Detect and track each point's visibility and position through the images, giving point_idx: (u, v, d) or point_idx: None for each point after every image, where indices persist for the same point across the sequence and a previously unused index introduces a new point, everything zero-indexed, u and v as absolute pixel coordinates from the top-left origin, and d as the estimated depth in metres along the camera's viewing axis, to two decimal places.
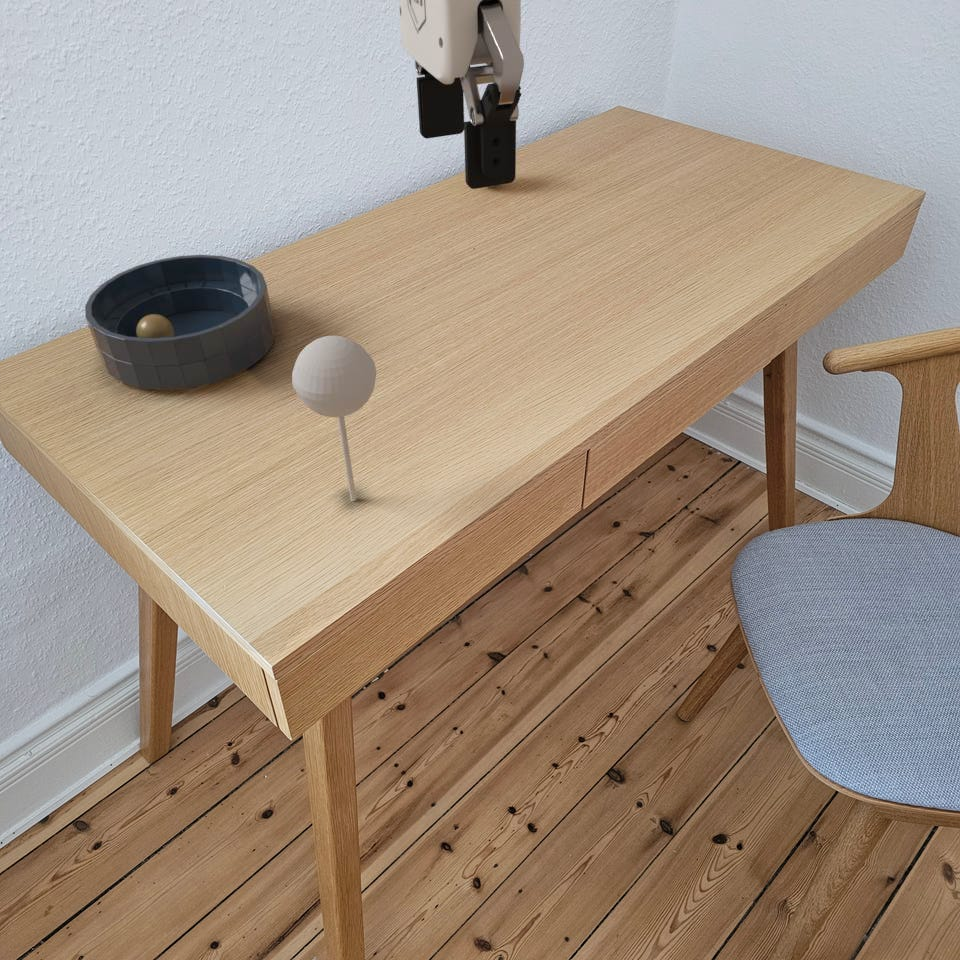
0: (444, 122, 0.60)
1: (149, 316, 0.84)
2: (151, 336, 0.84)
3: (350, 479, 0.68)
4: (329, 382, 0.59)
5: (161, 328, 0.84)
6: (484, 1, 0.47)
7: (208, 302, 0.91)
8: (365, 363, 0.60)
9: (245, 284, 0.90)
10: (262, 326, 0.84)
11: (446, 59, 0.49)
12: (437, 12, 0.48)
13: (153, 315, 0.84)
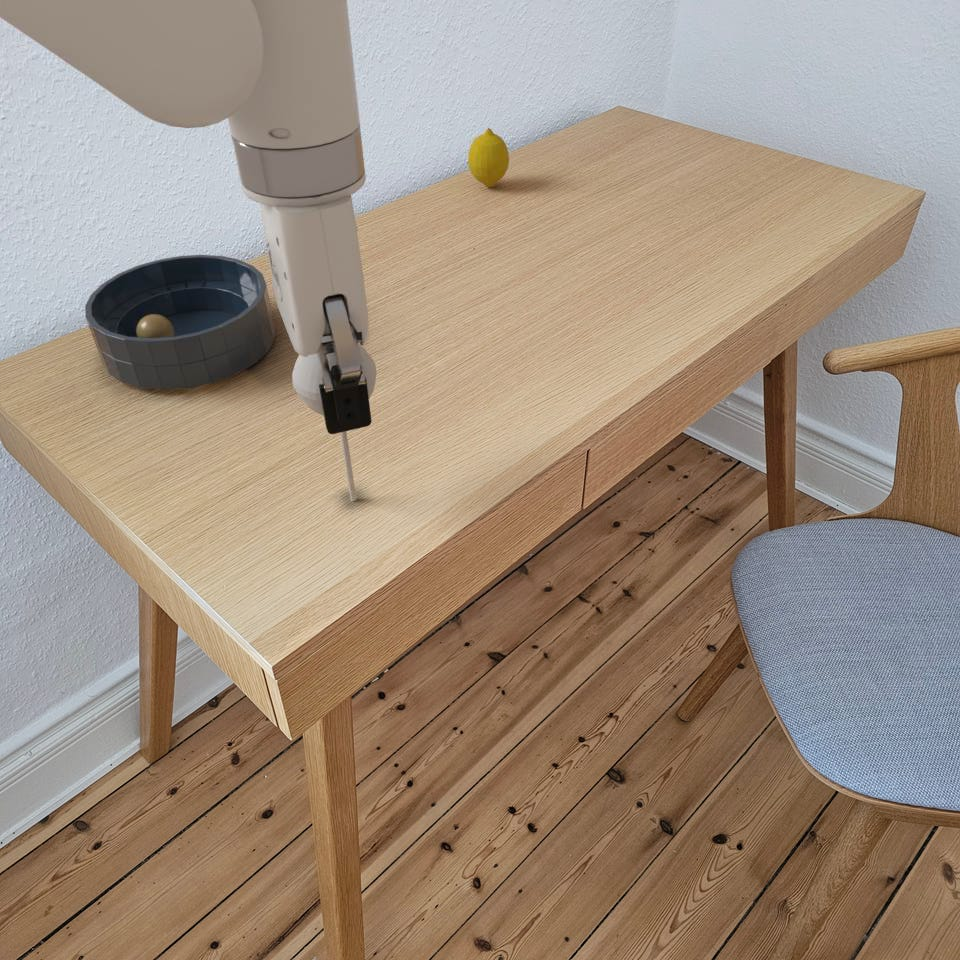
0: None
1: (149, 316, 0.84)
2: (151, 336, 0.84)
3: (350, 479, 0.68)
4: None
5: (161, 328, 0.84)
6: (330, 300, 0.52)
7: (208, 302, 0.91)
8: (366, 362, 0.60)
9: (245, 284, 0.90)
10: (262, 326, 0.84)
11: (298, 341, 0.53)
12: (288, 303, 0.53)
13: (153, 315, 0.84)
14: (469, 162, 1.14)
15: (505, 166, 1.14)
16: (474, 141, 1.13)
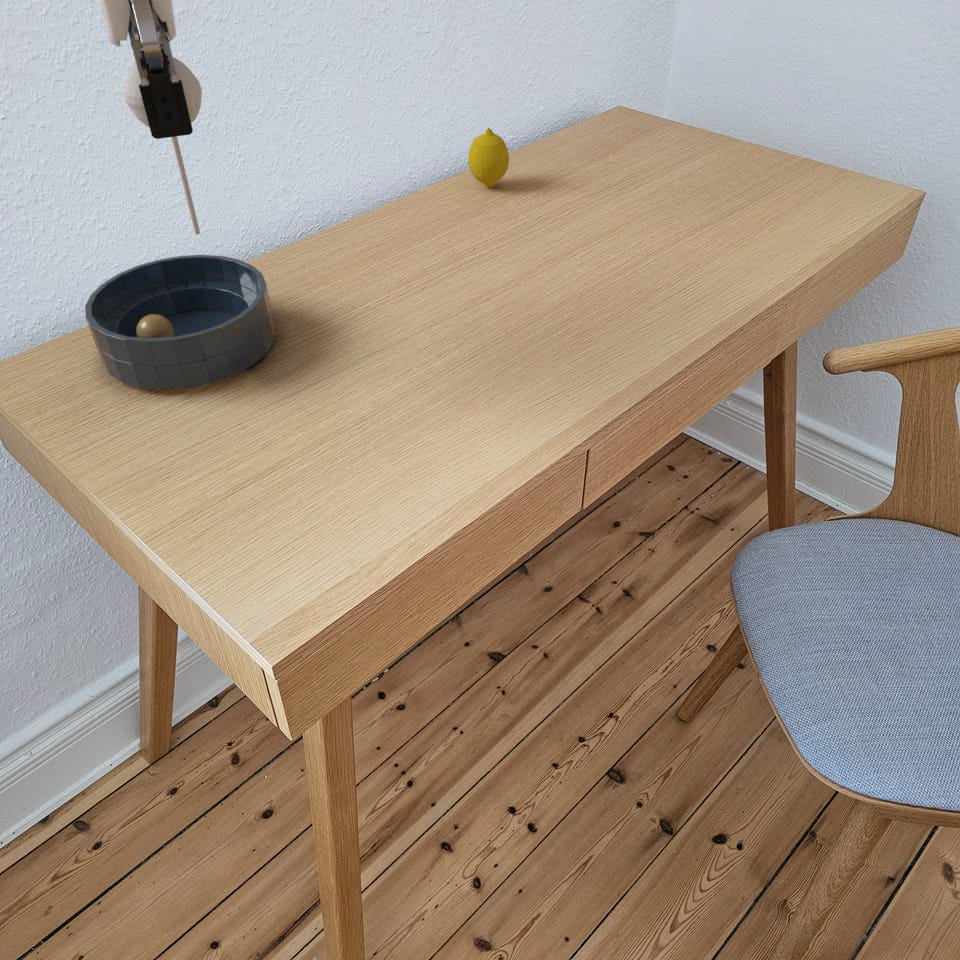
0: None
1: (149, 316, 0.84)
2: (151, 336, 0.84)
3: (191, 208, 0.76)
4: None
5: (161, 328, 0.84)
6: None
7: (208, 302, 0.91)
8: (187, 76, 0.68)
9: (245, 284, 0.90)
10: (262, 326, 0.84)
11: (108, 25, 0.61)
12: None
13: (153, 315, 0.84)
14: (469, 162, 1.14)
15: (505, 166, 1.14)
16: (474, 141, 1.13)
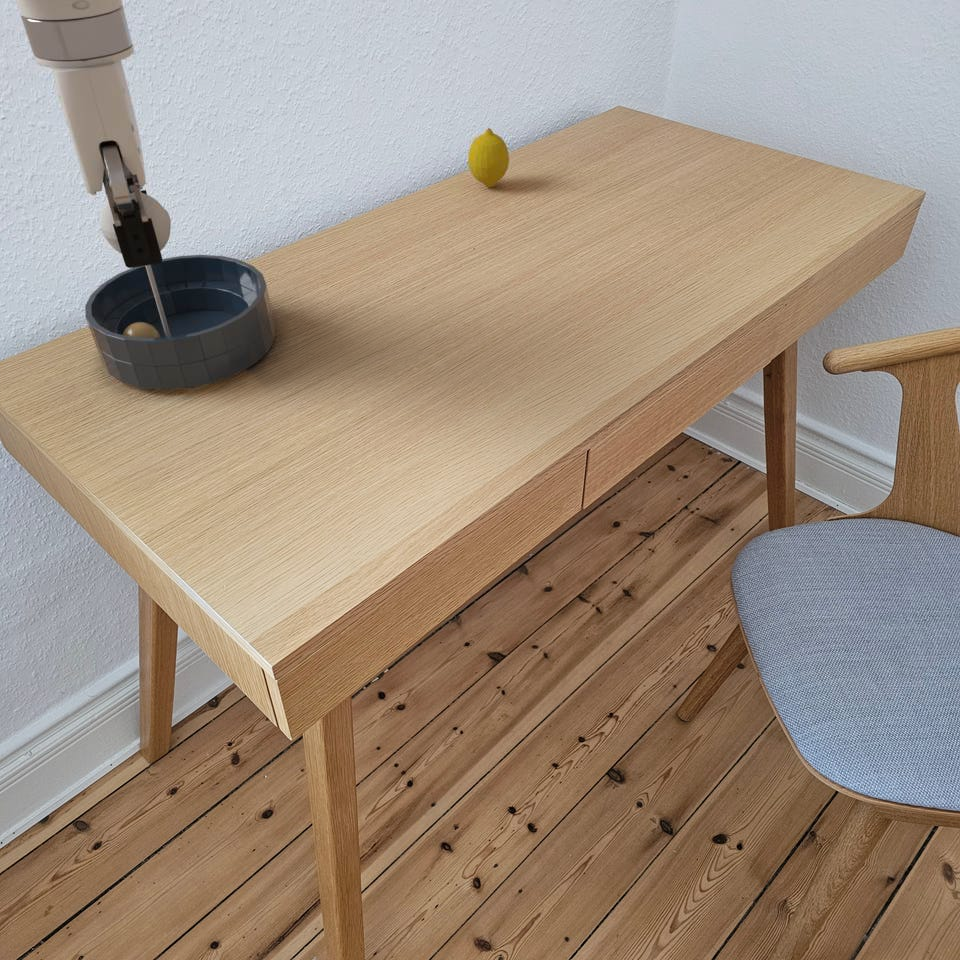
0: None
1: None
2: None
3: (163, 319, 0.84)
4: None
5: None
6: (106, 146, 0.68)
7: (208, 302, 0.91)
8: (157, 211, 0.76)
9: (245, 284, 0.90)
10: (262, 326, 0.84)
11: (85, 180, 0.69)
12: (74, 148, 0.69)
13: (127, 335, 0.82)
14: (469, 162, 1.14)
15: (505, 166, 1.14)
16: (474, 141, 1.13)
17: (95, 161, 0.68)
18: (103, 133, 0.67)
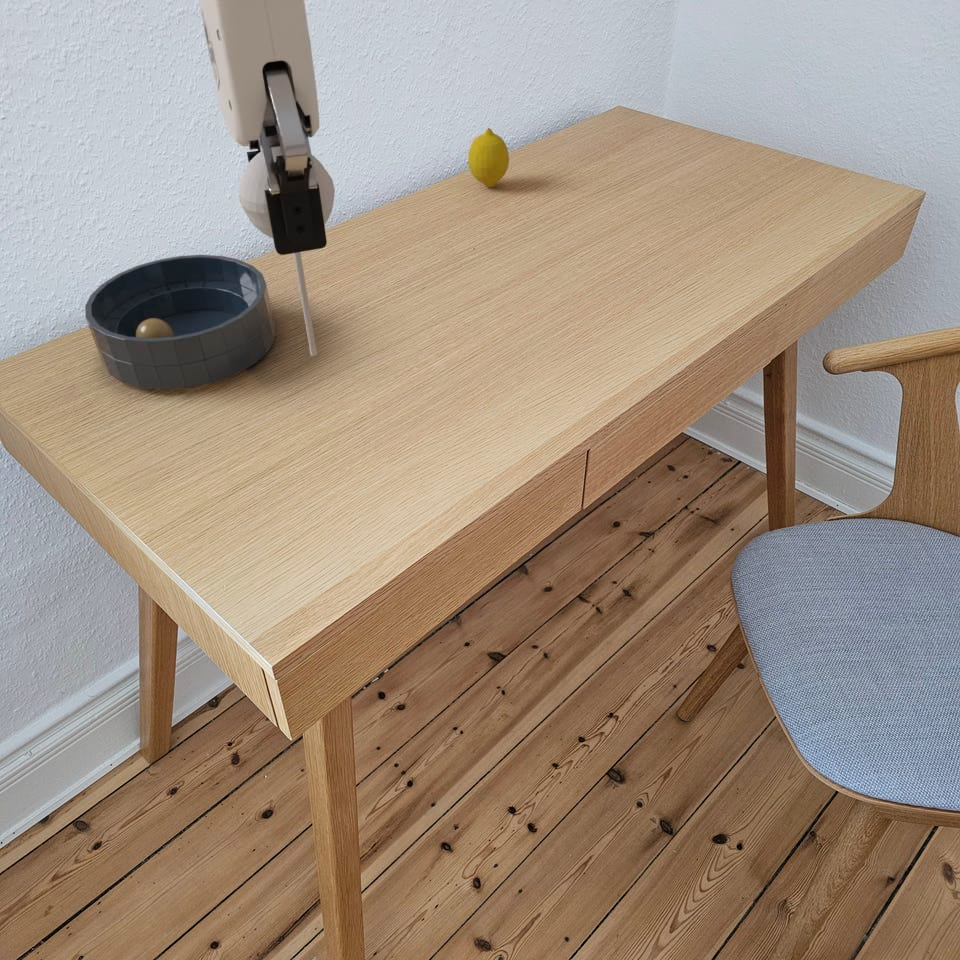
0: None
1: (148, 324, 0.83)
2: None
3: (309, 327, 0.61)
4: None
5: None
6: (272, 71, 0.45)
7: (208, 302, 0.91)
8: (321, 174, 0.53)
9: (245, 284, 0.90)
10: (262, 326, 0.84)
11: (236, 122, 0.46)
12: (223, 74, 0.46)
13: (152, 323, 0.83)
14: (469, 162, 1.14)
15: (505, 166, 1.14)
16: (474, 141, 1.13)
17: (255, 93, 0.45)
18: (271, 49, 0.45)
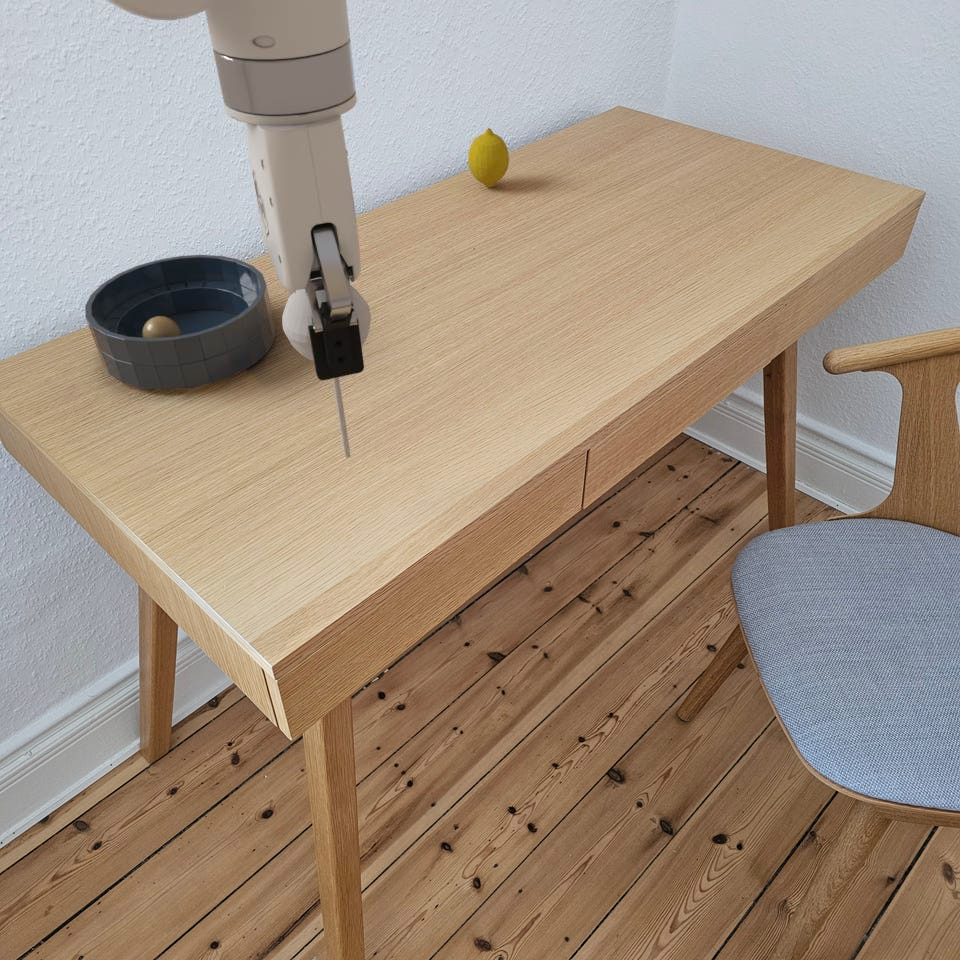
0: None
1: (161, 320, 0.84)
2: None
3: (344, 433, 0.65)
4: None
5: None
6: (319, 230, 0.49)
7: (208, 302, 0.91)
8: (359, 304, 0.57)
9: (245, 284, 0.90)
10: (262, 326, 0.84)
11: (285, 275, 0.50)
12: (274, 233, 0.50)
13: (165, 320, 0.84)
14: (469, 162, 1.14)
15: (505, 166, 1.14)
16: (474, 141, 1.13)
17: (303, 250, 0.49)
18: (319, 213, 0.48)
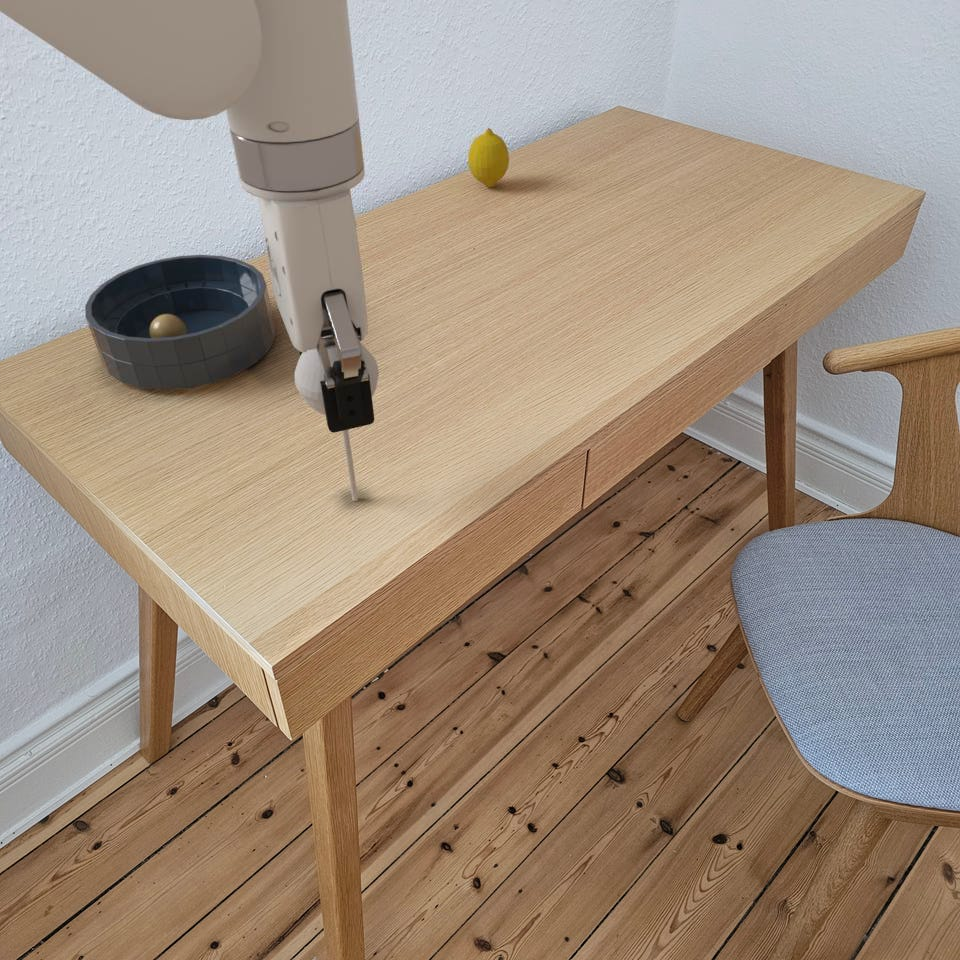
0: None
1: (174, 318, 0.84)
2: (162, 335, 0.83)
3: (352, 478, 0.68)
4: None
5: (176, 335, 0.84)
6: (328, 290, 0.52)
7: (208, 302, 0.91)
8: (368, 362, 0.60)
9: (245, 284, 0.90)
10: (262, 326, 0.84)
11: (297, 336, 0.53)
12: (286, 298, 0.52)
13: (178, 319, 0.85)
14: (469, 162, 1.14)
15: (505, 166, 1.14)
16: (474, 141, 1.13)
17: (314, 315, 0.52)
18: (329, 281, 0.51)
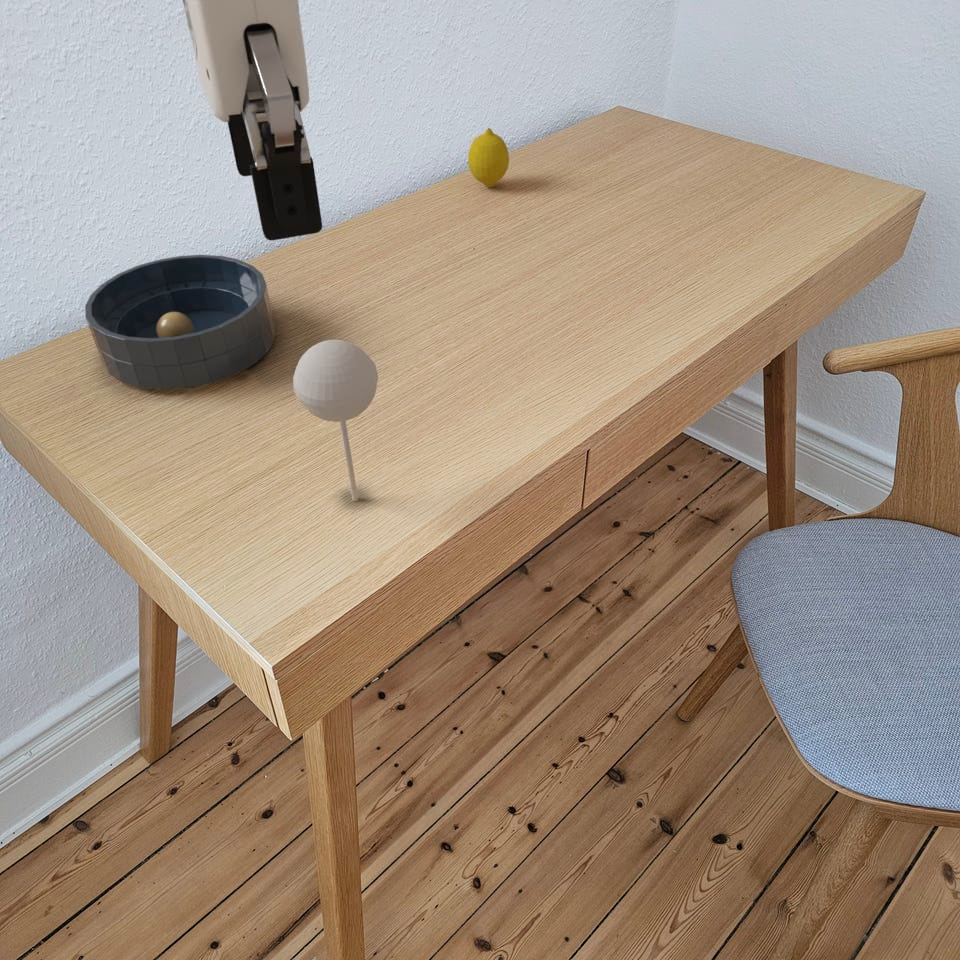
0: None
1: (187, 318, 0.85)
2: (172, 329, 0.84)
3: (352, 479, 0.68)
4: (331, 388, 0.58)
5: (184, 333, 0.84)
6: (253, 26, 0.40)
7: (208, 302, 0.91)
8: (367, 368, 0.60)
9: (245, 284, 0.90)
10: (262, 326, 0.84)
11: (215, 94, 0.41)
12: (200, 39, 0.40)
13: (190, 321, 0.85)
14: (469, 162, 1.14)
15: (505, 166, 1.14)
16: (474, 141, 1.13)
17: (236, 60, 0.40)
18: (252, 9, 0.39)
